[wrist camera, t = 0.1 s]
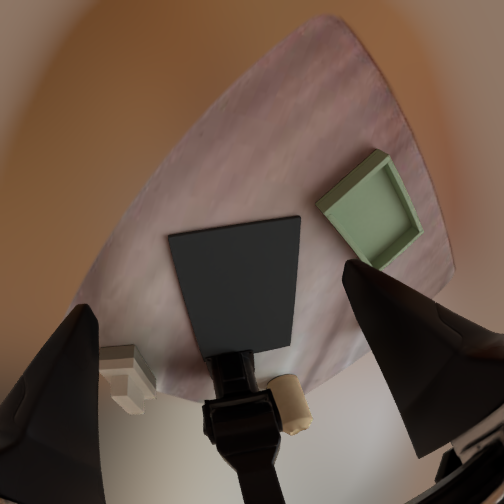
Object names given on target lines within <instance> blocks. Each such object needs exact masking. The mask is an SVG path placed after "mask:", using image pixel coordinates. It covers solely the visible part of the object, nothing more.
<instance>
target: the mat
mask: <svg viewBox="0 0 504 504" xmlns="http://www.w3.org/2000/svg"><path fill="white" fill-rule="evenodd" d="M300 225H301V217H300V216H294V217H286V218H279V219H272V220H264V221H257V222H251V223H244V224H237V225H230V226H224V227H217V228H211V229H205V230H198V231H192V232H186V233H180V234H174V235H168V241H169V245H170V249H171V253H172V257H173V261H174V264H175V268H176V272H177V276H178V279H179V283H180V286H181V290H182V293H183V297H184V300H185V304H186V307H187V310H188V314H189V317H190V320H191V323H192V327H193V330H194V333H195V336H196V339H197V342H198V345H199V348H200V351H201V354H202V357H203V360H204V362H206V361H205V358H206V357H209V356H216V355H222V354H227V353H233V352H239V351H244V350H249V349H251V350H253V354H254V353H259V352H263V351H268V350H273V349H277V348H282V347H286V346H290V343H291V334H292V324H293V314H294V304H295V293H296V281H297V269H298V256H299V241H300ZM248 353H250V352H248ZM208 360H210V359H208Z"/></svg>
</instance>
